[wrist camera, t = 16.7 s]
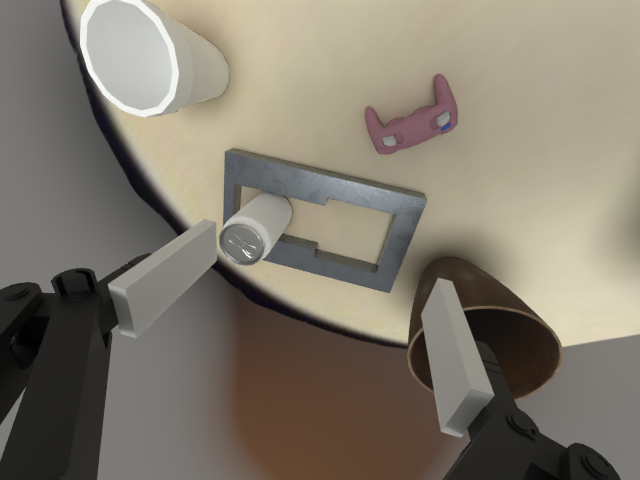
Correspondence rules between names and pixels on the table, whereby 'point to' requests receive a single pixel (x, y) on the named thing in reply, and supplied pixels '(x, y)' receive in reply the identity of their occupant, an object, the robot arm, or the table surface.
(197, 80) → the foam cup
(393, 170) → the table surface
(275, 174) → the keyhole plate
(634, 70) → the table surface
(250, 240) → the can
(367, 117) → the video game controller
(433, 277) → the plant pot
